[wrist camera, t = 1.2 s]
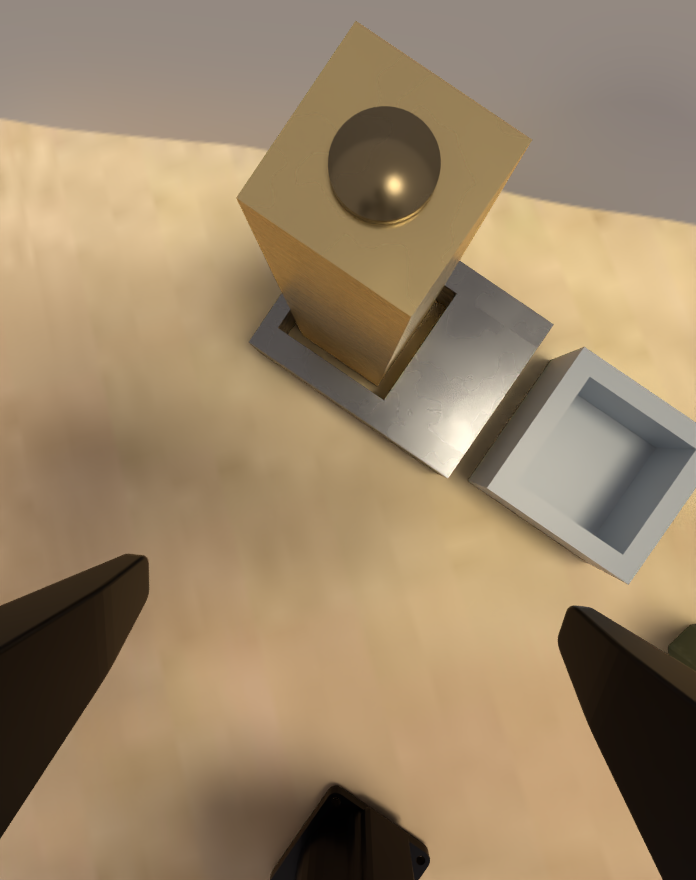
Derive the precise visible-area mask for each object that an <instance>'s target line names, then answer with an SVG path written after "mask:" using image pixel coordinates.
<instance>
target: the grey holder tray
mask: <svg viewBox="0 0 696 880" xmlns="http://www.w3.org/2000/svg"><path fill="white" fill-rule="evenodd" d="M436 300H437V301H439V302H440V303H442V304H443V305H444V306H446V307H447V308H446V310H445V311H444V312H443V314H442V315H441V317H440V318H439V320H438V321H437V323H436V324H435V326H434V327H433V329H432V330H431V331H430V333H429V334H428V336H427V337H426V339H425V340H424V342H423V343H422V345H421V346H420V348H419V349H418V351H417V352H416V353H415V355H414V356H413V358H412V359H411V361H410V362H409V364H408V365H407V367H406V368H405V370H404V371H403V372H402V374H401V375H400V377H399V378H398V380H397V381H396V383H395V384H394V386H393V387H392V389H391V390H390V391H389V393H388V394H387V396H386V397H385V399H384V400H383V399H381V398H380V397H378V396H377V395H375V394H374V393H372V392H371V391H369V390H368V389H367V388H365V387H364V386H362V385H361V384H359V383H358V382H356V381H355V380H353V379H352V378H350V377H349V376H347V375H346V374H345V373H343V372H342V371H340V370H339V369H337V368H336V367H334V366H333V365H331V364H330V363H328V362H327V361H326V360H324V359H323V358H321V357H320V356H318V355H317V354H315V353H314V352H312V351H311V350H309V349H308V348H306V347H305V346H304V345H302V344H301V343H299V342H298V341H296V340H295V339H293V338H292V337H290V336H289V335H287V334H288V333H289V331H290V330H291V329H292V327H293V326H294V324H295V323H296V321H295V318H294V316H293V314H292V312H291V310H290V308H289V306H288V304H287V302H286V300H285V298H284V296H283V294H281V295H280V297H279V298H278V300H277V301H276V303H275V304H274V305H273V307H272V308H271V310H270V311H269V313H268V314H267V316H266V317H265V319H264V320H263V322H262V323H261V325H260V326H259V328H258V329H257V331H256V332H255V334H254V335H253V336H252V338H251V339H250V341H249V343H250V344H251V345H252V346H253V347H254V348H256V349H257V350H258V351H259V352H260V353H262V354H263V355H265V356H266V357H268V358H269V359H271V360H272V361H274V362H275V363H276V364H278V365H279V366H281V367H282V368H284V369H285V370H287V371H288V372H290V373H291V374H293V375H294V376H295V377H297V378H298V379H300V380H301V381H303V382H304V383H306V384H307V385H309V386H310V387H312V388H313V389H315V390H316V391H317V392H319V393H320V394H322V395H323V396H325V397H326V398H328V399H329V400H331V401H332V402H334V403H335V404H336V405H338V406H339V407H341V408H342V409H344V410H345V411H347V412H348V413H350V414H351V415H353V416H354V417H356V418H357V419H358V420H360V421H361V422H363V423H364V424H366V425H367V426H369V427H370V428H372V429H373V430H375V431H376V432H377V433H379V434H380V435H382V436H383V437H385V438H386V439H388V440H389V441H391V442H392V443H394V444H395V445H396V446H398V447H399V448H401V449H402V450H404V451H405V452H407V453H408V454H410V455H411V456H413V457H414V458H416V459H417V460H418V461H420V462H421V463H423V464H424V465H426V466H427V467H429V468H430V469H432V470H433V471H435V472H436V473H437V474H439V475H441V476H444V477H446V478H448V477H449V476H450V475H451V473H452V472H453V470H454V469H455V467H456V466H457V464H458V463H459V461H460V460H461V459H462V457H463V456H464V454H465V453H466V451H467V450H468V448H469V447H470V445H471V444H472V443H473V441H474V440H475V438H476V437H477V435H478V434H479V432H480V431H481V429H482V428H483V427H484V425H485V424H486V422H487V421H488V419H489V418H490V416H491V415H492V413H493V412H494V411H495V409H496V408H497V406H498V405H499V403H500V402H501V400H502V399H503V397H504V396H505V395H506V393H507V392H508V390H509V389H510V387H511V386H512V384H513V383H514V381H515V380H516V379H517V377H518V376H519V374H520V373H521V371H522V370H523V368H524V367H525V365H526V364H527V363H528V361H529V360H530V358H531V357H532V355H533V354H534V352H535V351H536V349H537V348H538V347H539V345H540V344H541V342H542V341H543V339H544V338H545V336H546V335H547V333H548V332H549V331H550V329H551V328H552V326H553V325H554V324H552V323H551V322H549V321H548V320H546V319H545V318H543V317H542V316H540V315H539V314H537V313H536V312H534V311H533V310H532V309H530V308H529V307H527V306H526V305H524V304H523V303H521V302H520V301H518V300H517V299H515V298H514V297H512V296H511V295H509V294H508V293H506V292H505V291H504V290H502V289H501V288H499V287H498V286H496V285H495V284H493V283H492V282H490V281H489V280H487V279H486V278H484V277H483V276H481V275H480V274H478V273H477V272H475V271H474V270H473V269H471V268H470V267H468V266H467V265H465V264H464V263H462V262H461V261H459V262H458V264H457V265H456V267H455V269H454V270H453V272H452V274H451V275H450V277H449V279H448V280H447V282H446V284H445V285H444V287H443V289H442V290H441V292H440V294H439V295H438V297H437V299H436Z"/></svg>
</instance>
